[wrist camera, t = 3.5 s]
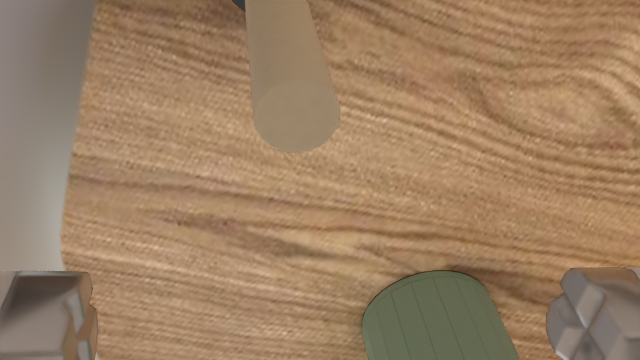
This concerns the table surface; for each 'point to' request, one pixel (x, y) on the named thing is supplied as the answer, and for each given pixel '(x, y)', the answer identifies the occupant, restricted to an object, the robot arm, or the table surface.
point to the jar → (436, 321)
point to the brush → (288, 76)
